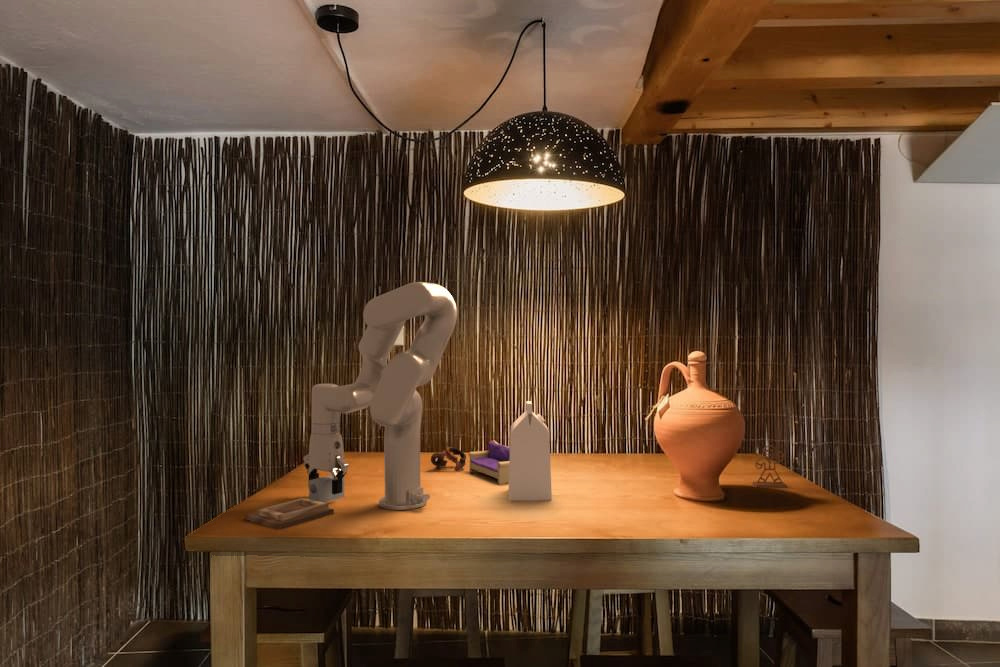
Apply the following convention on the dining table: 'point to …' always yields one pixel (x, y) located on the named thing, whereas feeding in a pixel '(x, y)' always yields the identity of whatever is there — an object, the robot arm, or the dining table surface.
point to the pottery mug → (450, 456)
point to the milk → (529, 458)
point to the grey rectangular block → (323, 489)
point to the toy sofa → (492, 462)
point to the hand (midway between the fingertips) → (325, 490)
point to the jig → (290, 513)
